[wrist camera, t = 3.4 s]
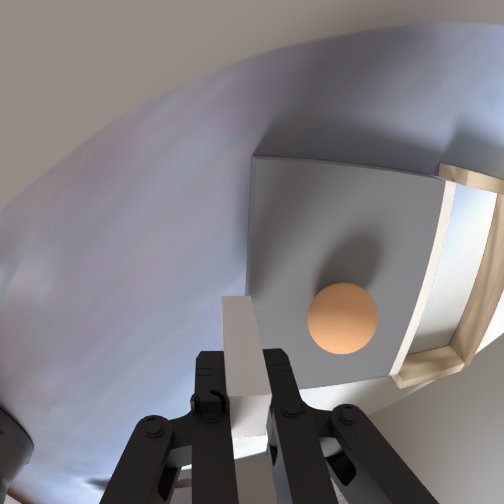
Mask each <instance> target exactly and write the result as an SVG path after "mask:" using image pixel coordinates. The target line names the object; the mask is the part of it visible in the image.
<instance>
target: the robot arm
mask: <svg viewBox="0 0 504 504" xmlns="http://www.w3.org/2000/svg"><path fill="white" fill-rule="evenodd" d="M222 349H223V351H201V352H200V354H199V355H198V357H197V358H196V370H195V393H194V394H193V395H192V397H191V400H190V404H191V411H190V412H189V413H188V414H186V415H185V416H183V417H180V418H176V419H172V420H167V419H166V418H164V417H162V416H158V415H151V416H146V417H144V418H143V419H141V420H140V421H139V422H138V423H137V425H136V427H135V429H134V431H133V433H132V435H131V437H130V439H129V441H128V443H127V445H126V447H125V450H124V452H123V454H122V456H121V458H120V460H119V462H118V464H117V466H116V468H115V471H114V473H113V475H112V477H111V479H110V481H109V483H108V485H107V488H106V490H105V492H104V494H103V496H102V498H101V501H100V503H99V504H170V501H171V498H172V495H173V492H174V489H175V486H176V483H177V480H178V476H179V474H180V471H181V468H182V466H186V465H190V464H192V504H239V500H238V491H237V483H236V473H235V463H234V453H233V443H232V437H246V436H262V435H266V430H267V435H268V443H267V449H266V455H269V459H270V464H271V470H272V475H273V481H274V486H275V491H276V497H277V502H278V504H339V502H338V499H337V496H336V493H335V489H334V486H333V483H332V480H331V478H332V479H333V481H334V483H335V484H336V486H337V487H338V489H339V490H340V492H341V493H342V495H343V496H344V498H345V499H346V501H347V502H348V504H439V503H438V502H437V501H436V499H434V497H433V496H432V495H431V493H430V492H429V491H428V490H427V489H426V487H425V486H424V485H423V484H422V483H421V482H420V480H418V478H417V477H416V476H415V474H414V473H413V472H412V471H411V470H410V468H409V467H408V466H407V465H406V464H405V462H404V461H403V460H402V459H401V458H400V456H399V455H398V454H397V453H396V452H395V450H394V449H393V448H392V447H391V445H390V444H389V443H388V442H387V441H386V439H385V438H384V437H383V436H382V434H381V433H380V432H379V431H378V430H377V428H376V427H375V426H374V425H373V424H372V422H371V421H370V420H369V419H368V417H367V416H366V415H365V414H364V412H363V411H362V410H361V409H359V408H358V407H357V406H354V405H352V404H342V405H338V406H337V407H335V408H334V409H333V411H327V410H319V409H314V408H312V407H310V406H308V405H307V404H306V403H305V402H304V401H303V400H302V398H301V396H300V393H299V390H298V387H297V383H296V380H295V377H294V373H293V370H292V367H291V364H290V360H289V357H288V355H287V354H286V353H285V352H284V351H283V350H282V349H281V348H273V349H262V346H261V341H260V336H259V332H258V327H257V322H256V317H255V313H254V308H253V303H252V298H251V296H222ZM33 450H34V446H33V444H32V442H31V440H30V438H29V437H28V436H27V434H26V433H25V432H24V431H23V430H22V429H21V428H20V427H19V426H18V425H17V424H16V423H15V422H14V421H13V420H12V419H11V418H10V417H9V416H8V415H7V414H6V413H5V412H3V411H2V410H1V409H0V504H4V501H5V497H6V494H7V490H8V487H9V484H10V483H11V482H12V481H13V479H14V478H15V477H16V476H17V475H18V473H19V472H20V471H21V470H22V468H23V467H24V465H26V464H27V463H28V462H29V461H30V459H31V456H32V453H33Z"/></svg>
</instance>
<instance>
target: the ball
mask: <svg viewBox="0 0 504 504" xmlns="http://www.w3.org/2000/svg"><path fill="white" fill-rule="evenodd" d="M307 323H308V329H309V332H310V334H311V336H312V338H313V340H314V341H315V342H316V343H317V344H318V345H319V346H320V347H321V348H323V349H324V350H326V351H328V352H331V353H335V354H348V353H352V352H355V351H357V350H359V349H361V348H362V347H364V346H365V345H366V344H367V343H368V342H369V341H370V340H371V338H372V337H373V335H374V333H375V330H376V327H377V323H378V312H377V307H376V305H375V302H374V300H373V299H372V297H371V296H370V294H369V293H368V292H367V291H365V290H364V289H363V288H361V287H359V286H357V285H354V284H351V283H337V284H333V285H330V286H328V287H326V288H324V289H323V290H322V291H320V292H319V293H318V294H317V295H316V297H315V298H314V299H313V301H312V303H311V305H310V307H309V310H308V317H307Z"/></svg>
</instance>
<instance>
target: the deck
mask: <svg viewBox="0 0 504 504" xmlns="http://www.w3.org/2000/svg"><path fill="white" fill-rule="evenodd" d="M455 186H456V182H453V181H450V180H447V179H444V178H441V177H438V176H433V175H428V174H422V173H416V172H410V171H404V170H398V169H391V168H384V167H377V166H370V165H362V164H353V163H345V162H335V161H325V160H314V159H301V158H287V157H269V156H252V162H251V183H250V204H249V225H248V247H247V269H246V292H245V296H251V298H252V303H253V308H254V313H255V317H256V322H257V327H258V332H259V336H260V341H261V346H262V349H273V348H281V349H282V350H283V351H284V352H285V353H286V354H287V355H288V357H289V360H290V364H291V367H292V370H293V373H294V377H295V380H296V383H297V387H298V390H300V389H309V388H317V387H325V386H332V385H339V384H345V383H351V382H357V381H363V380H368V379H374V378H379V377H384V376H389V375H393V374H398V372H399V370H400V368H401V366H402V364H403V361H404V359H405V357H406V354H407V352H408V350H409V347H410V345H411V342H412V340H413V337H414V335H415V332H416V330H417V327H418V325H419V322H420V319H421V316H422V314H423V311H424V308H425V305H426V302H427V299H428V296H429V293H430V290H431V287H432V284H433V281H434V277H435V274H436V270H437V267H438V263H439V260H440V256H441V252H442V248H443V245H444V240H445V236H446V232H447V228H448V223H449V218H450V214H451V208H452V203H453V198H454V192H455ZM337 283H351V284H354V285H357V286H359V287H361V288H363V289H364V290H365V291H367V292H368V293H369V294H370V296H371V297H372V299H373V300H374V302H375V305H376V307H377V312H378V323H377V327H376V330H375V333H374V335H373V337H372V338H371V340H370V341H369V342H368V343H367V344H366V345H365V346H364V347H362V348H361V349H359V350H357V351H355V352H352V353H348V354H335V353H331V352H328V351H326V350H324V349H323V348H321V347H320V346H319V345H318V344H317V343H316V342H315V341H314V340H313V338H312V336H311V334H310V332H309V329H308V323H307V317H308V310H309V307H310V305H311V303H312V301H313V299H314V298H315V297H316V295H317V294H318V293H319V292H320V291H322V290H323V289H324V288H326V287H328V286H330V285H333V284H337Z"/></svg>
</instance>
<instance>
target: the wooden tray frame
mask: <svg viewBox="0 0 504 504" xmlns="http://www.w3.org/2000/svg"><path fill="white" fill-rule="evenodd" d="M438 177H441V178H444V179H447V180H450V181H453V182H456V183H459V184H462V185H464V186H468V187H473V188H477V189H482V190H486V191H490V192H495V193H498V195H497V200H496V206H495V210H494V215H493V220H492V224H491V228H490V232H489V236H488V240H487V244H486V248H485V251H484V255H483V258H482V262H481V265H480V268H479V271H478V274H477V277H476V280H475V283H474V286H473V289H472V292H471V295H470V297H469V300H468V303H467V305H466V308H465V310H464V313H463V315H462V318H461V320H460V323H459V325H458V327H457V330H456V332H455V334H454V337H453V339H452V341H451V343H450V345H449V346H445V347H441V348H437V349H433V350H429V351H424V352H420V353H415V354H410V355H406V357H405V359H404V361H403V364H402V366H401V368H400V370H399V372H398V374H393V375H391V377H392V379H393V380H394V382H395V383H396V385H397V387H398V388H399V389H402V388H405V387H409V386H413V385H417V384H420V383H424V382H427V381H431V380H434V379H437V378H440V377H443V376H446V375H450V374H453V373H456V372H458V371H461V370H464V369H467V367H468V366H469V364H470V362H471V360H472V358H473V356H474V354H475V353H476V351H477V349H478V347H479V345H480V343H481V341H482V339H483V337H484V334H485V332H486V330H487V328H488V326H489V324H490V321H491V319H492V317H493V314H494V312H495V310H496V307H497V305H498V302H499V300H500V297H501V295H502V292H503V289H504V180H503V179H500V178H496V177H493V176H490V175H486V174H483V173H479V172H475V171H472V170H468V169H464V168H460V167H456V166H452V165H448V164H444V163H440V164H439V172H438Z"/></svg>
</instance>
